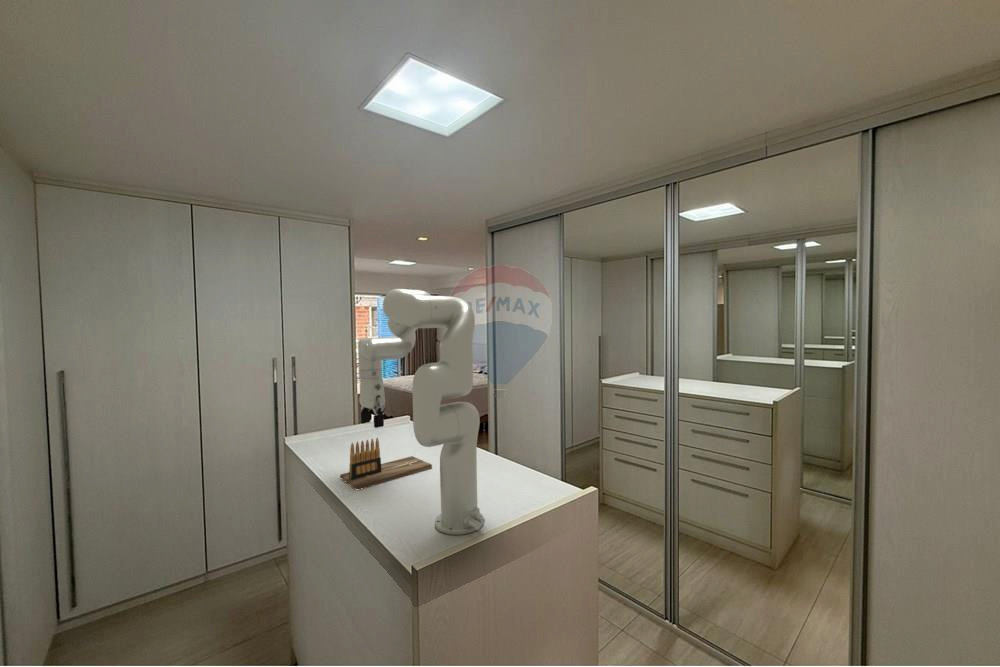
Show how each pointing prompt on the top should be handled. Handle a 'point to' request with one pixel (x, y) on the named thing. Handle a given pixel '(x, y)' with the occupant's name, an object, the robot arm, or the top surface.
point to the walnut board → (389, 472)
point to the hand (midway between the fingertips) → (372, 424)
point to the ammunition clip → (365, 460)
